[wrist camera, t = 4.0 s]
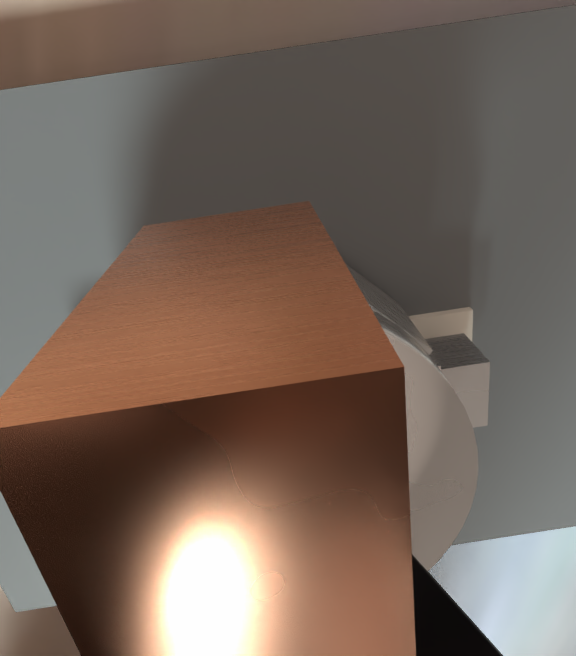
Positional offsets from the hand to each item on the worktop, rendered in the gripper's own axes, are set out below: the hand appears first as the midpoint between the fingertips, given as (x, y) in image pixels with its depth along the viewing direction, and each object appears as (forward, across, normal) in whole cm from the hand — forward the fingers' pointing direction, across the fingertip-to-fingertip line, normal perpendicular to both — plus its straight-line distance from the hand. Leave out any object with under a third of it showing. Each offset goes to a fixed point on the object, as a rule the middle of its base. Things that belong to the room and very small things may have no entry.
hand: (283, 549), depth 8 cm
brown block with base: (+5, 0, 0) cm, 5 cm away
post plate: (+7, 0, 0) cm, 7 cm away
